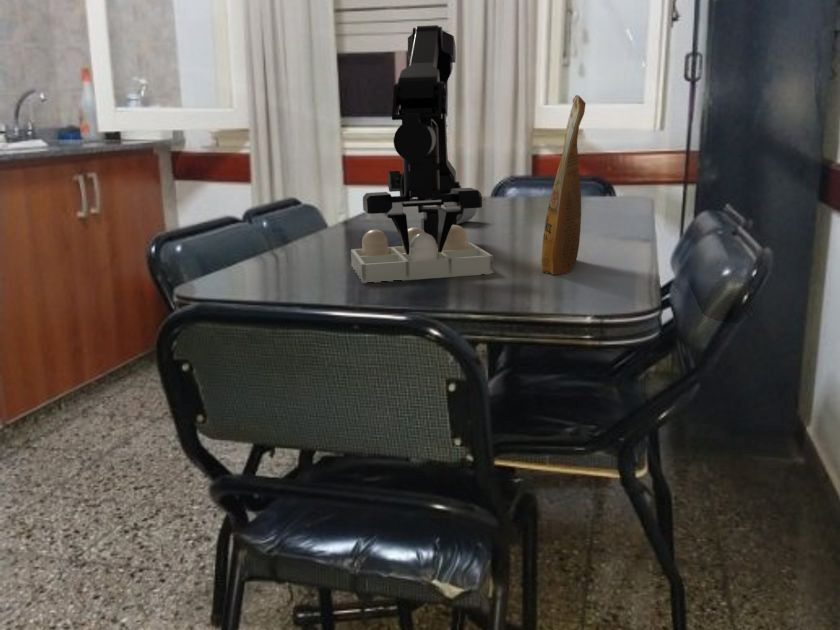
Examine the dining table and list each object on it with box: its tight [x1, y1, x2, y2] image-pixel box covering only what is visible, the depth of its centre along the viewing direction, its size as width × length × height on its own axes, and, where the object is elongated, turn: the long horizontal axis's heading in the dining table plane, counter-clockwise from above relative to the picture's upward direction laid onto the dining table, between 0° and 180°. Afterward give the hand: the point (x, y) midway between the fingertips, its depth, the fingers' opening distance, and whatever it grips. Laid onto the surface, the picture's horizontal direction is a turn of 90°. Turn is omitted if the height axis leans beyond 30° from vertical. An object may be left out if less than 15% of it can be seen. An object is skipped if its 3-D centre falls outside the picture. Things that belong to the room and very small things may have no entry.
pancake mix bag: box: [541, 94, 586, 276], centre depth 129 cm, size 7×19×28 cm, turn 164°
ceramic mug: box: [435, 205, 478, 225], centre depth 185 cm, size 11×8×8 cm
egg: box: [410, 233, 437, 261], centre depth 129 cm, size 4×4×6 cm
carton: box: [350, 224, 494, 284], centre depth 132 cm, size 22×15×7 cm
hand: (423, 253), depth 129 cm, fingers open, 5 cm apart
